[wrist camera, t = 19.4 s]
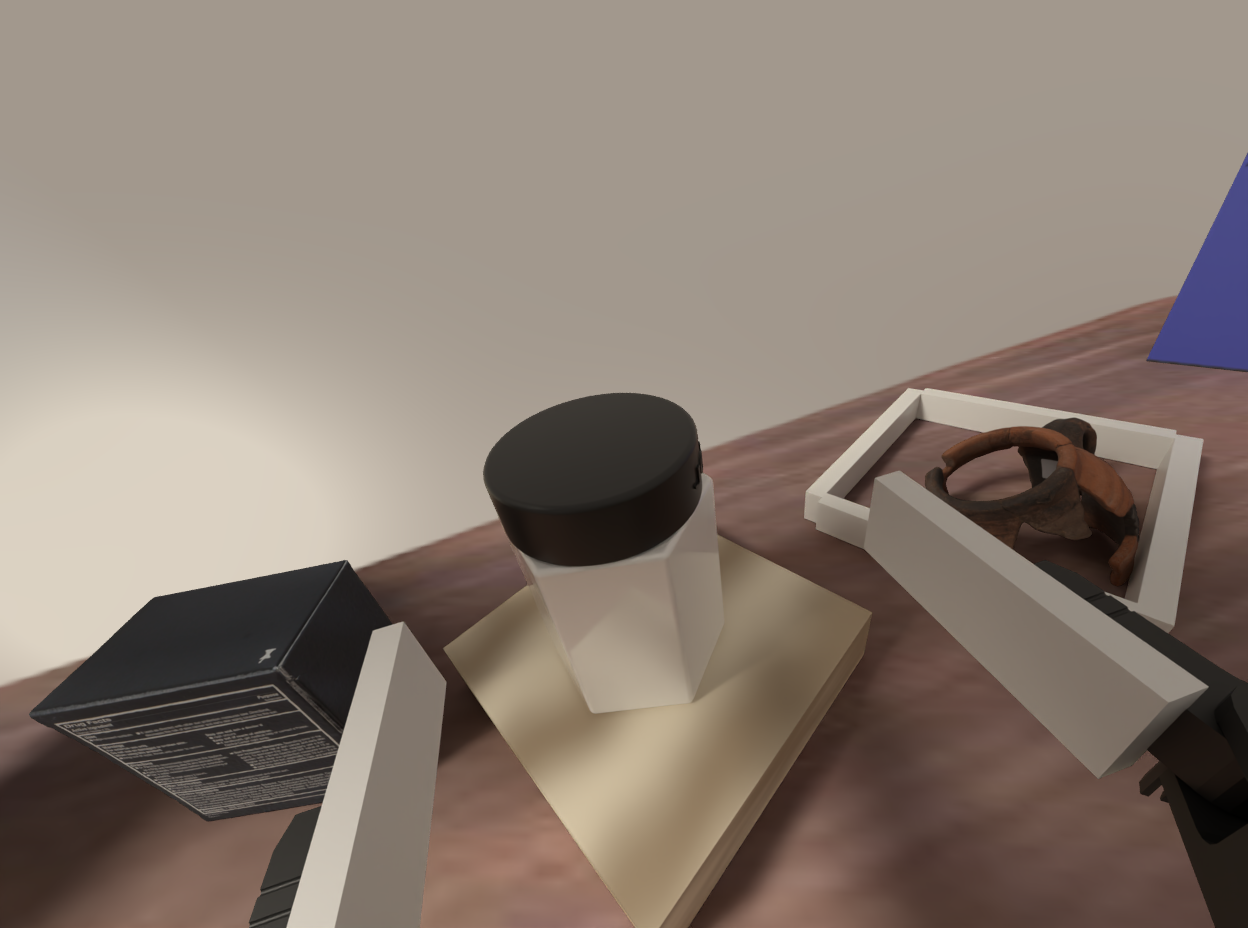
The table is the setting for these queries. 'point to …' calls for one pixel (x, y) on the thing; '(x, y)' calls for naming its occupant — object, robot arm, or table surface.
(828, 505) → the grey tray rim
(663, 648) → the jar
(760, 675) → the maple base
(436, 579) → the table surface
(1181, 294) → the cereal box
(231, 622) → the small box
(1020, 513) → the pottery mug
